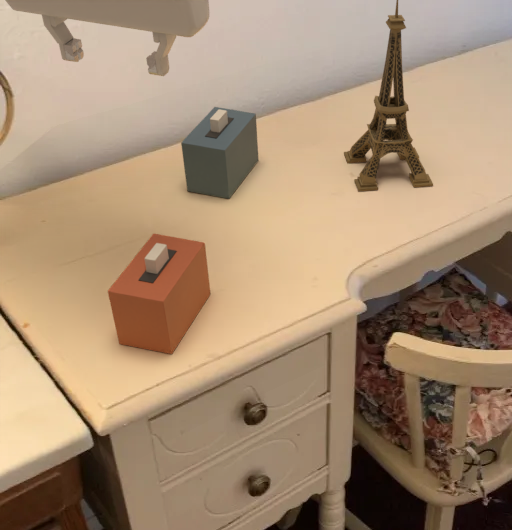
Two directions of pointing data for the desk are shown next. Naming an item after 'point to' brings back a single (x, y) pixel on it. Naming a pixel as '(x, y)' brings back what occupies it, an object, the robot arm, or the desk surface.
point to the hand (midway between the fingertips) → (116, 66)
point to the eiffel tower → (386, 109)
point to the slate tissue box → (220, 152)
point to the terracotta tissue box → (160, 293)
